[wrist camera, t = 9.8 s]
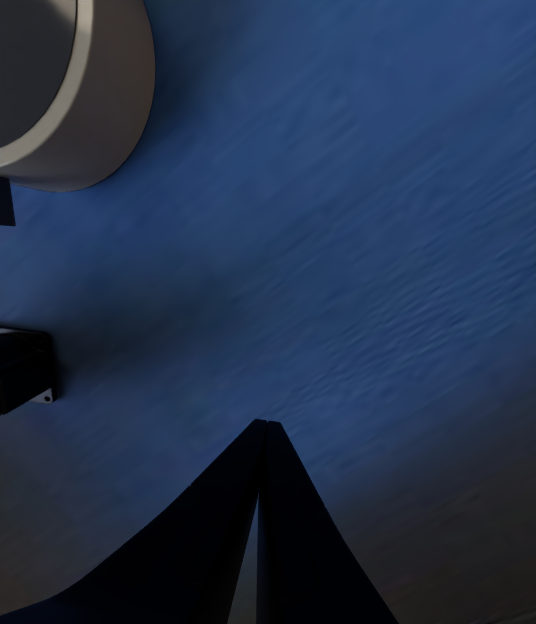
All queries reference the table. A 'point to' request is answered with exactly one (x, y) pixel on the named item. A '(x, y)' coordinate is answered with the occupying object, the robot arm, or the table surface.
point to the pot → (70, 92)
